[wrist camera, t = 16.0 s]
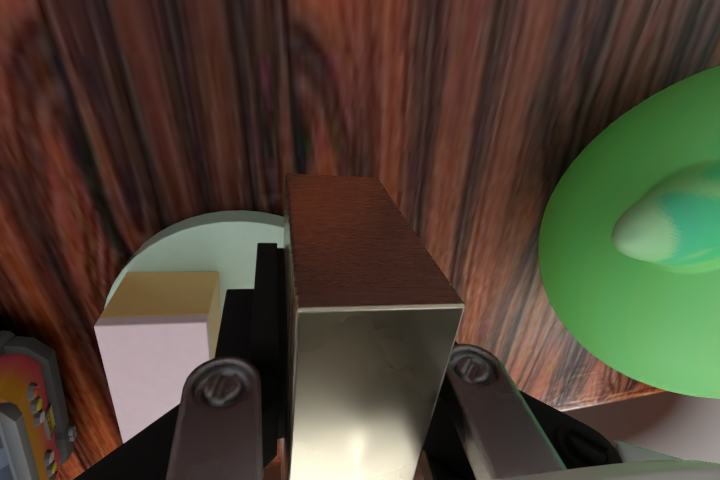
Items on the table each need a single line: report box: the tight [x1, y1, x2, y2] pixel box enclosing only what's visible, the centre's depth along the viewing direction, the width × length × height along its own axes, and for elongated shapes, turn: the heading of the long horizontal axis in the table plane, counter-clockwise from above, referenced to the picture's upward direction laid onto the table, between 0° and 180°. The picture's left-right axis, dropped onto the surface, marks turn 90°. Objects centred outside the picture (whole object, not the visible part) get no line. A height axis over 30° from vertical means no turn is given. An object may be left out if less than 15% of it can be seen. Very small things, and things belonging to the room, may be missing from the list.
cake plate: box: [104, 210, 284, 318], centre depth 24 cm, size 15×15×2 cm
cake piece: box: [94, 272, 221, 444], centre depth 21 cm, size 9×4×4 cm, turn 173°
